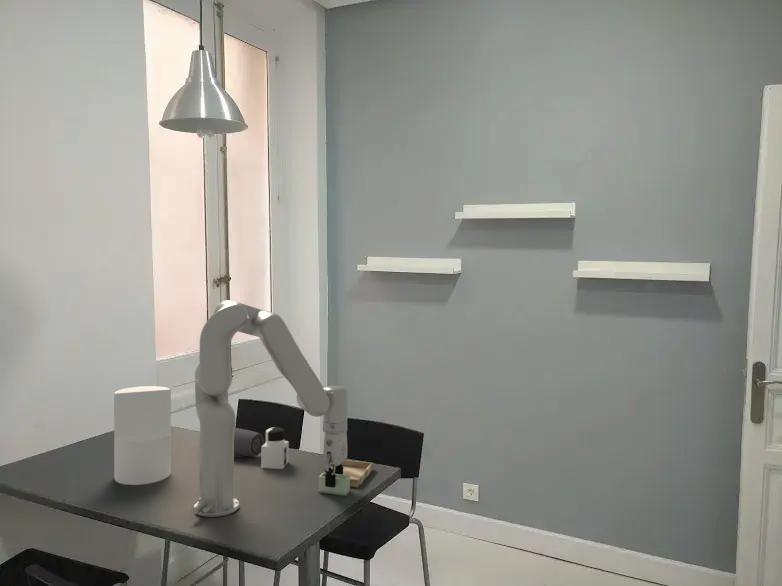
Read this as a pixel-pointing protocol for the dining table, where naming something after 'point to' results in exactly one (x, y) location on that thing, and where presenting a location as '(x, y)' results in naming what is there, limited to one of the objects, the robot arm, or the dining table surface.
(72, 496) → the dining table surface
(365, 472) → the wooden tray
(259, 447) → the bluetooth speaker
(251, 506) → the dining table surface
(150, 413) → the cylinder
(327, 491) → the small crate
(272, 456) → the container
